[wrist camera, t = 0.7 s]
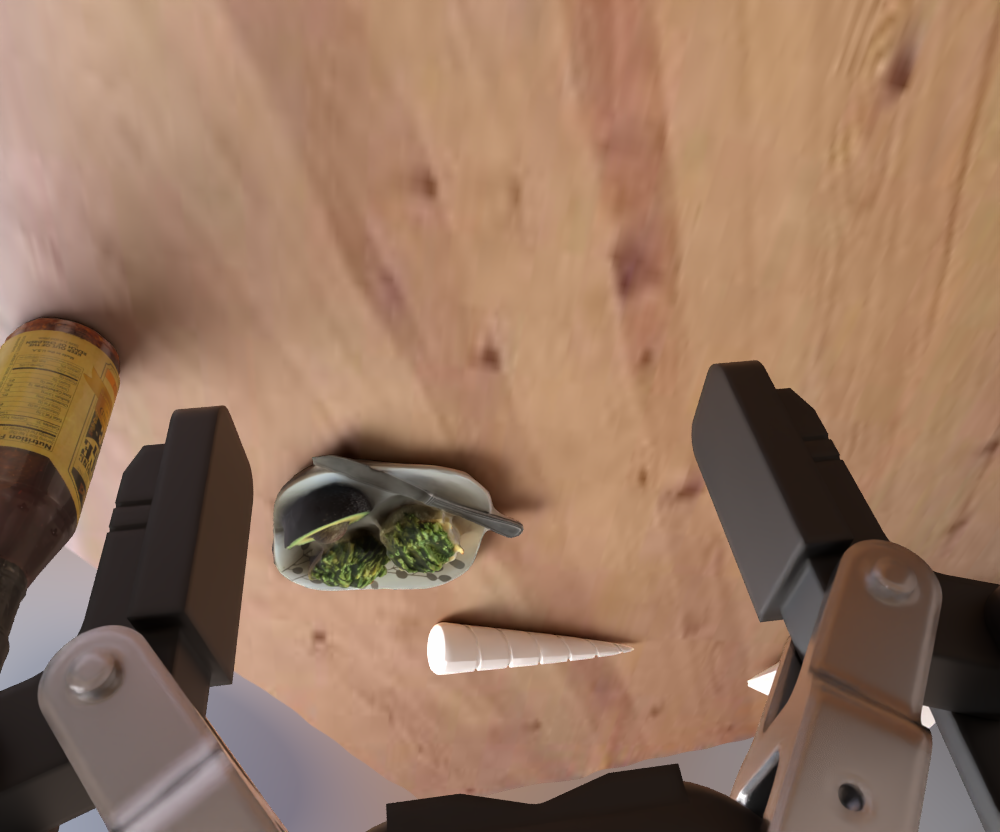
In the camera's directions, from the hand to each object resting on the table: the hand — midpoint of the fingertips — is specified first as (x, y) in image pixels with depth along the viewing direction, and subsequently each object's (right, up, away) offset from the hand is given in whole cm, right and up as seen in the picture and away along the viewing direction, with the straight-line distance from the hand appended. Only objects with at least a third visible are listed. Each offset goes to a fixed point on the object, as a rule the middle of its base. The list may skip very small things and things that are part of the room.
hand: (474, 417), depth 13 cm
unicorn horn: (+4, -22, +64) cm, 68 cm away
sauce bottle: (-25, +4, +31) cm, 40 cm away
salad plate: (-9, -8, +46) cm, 48 cm away
